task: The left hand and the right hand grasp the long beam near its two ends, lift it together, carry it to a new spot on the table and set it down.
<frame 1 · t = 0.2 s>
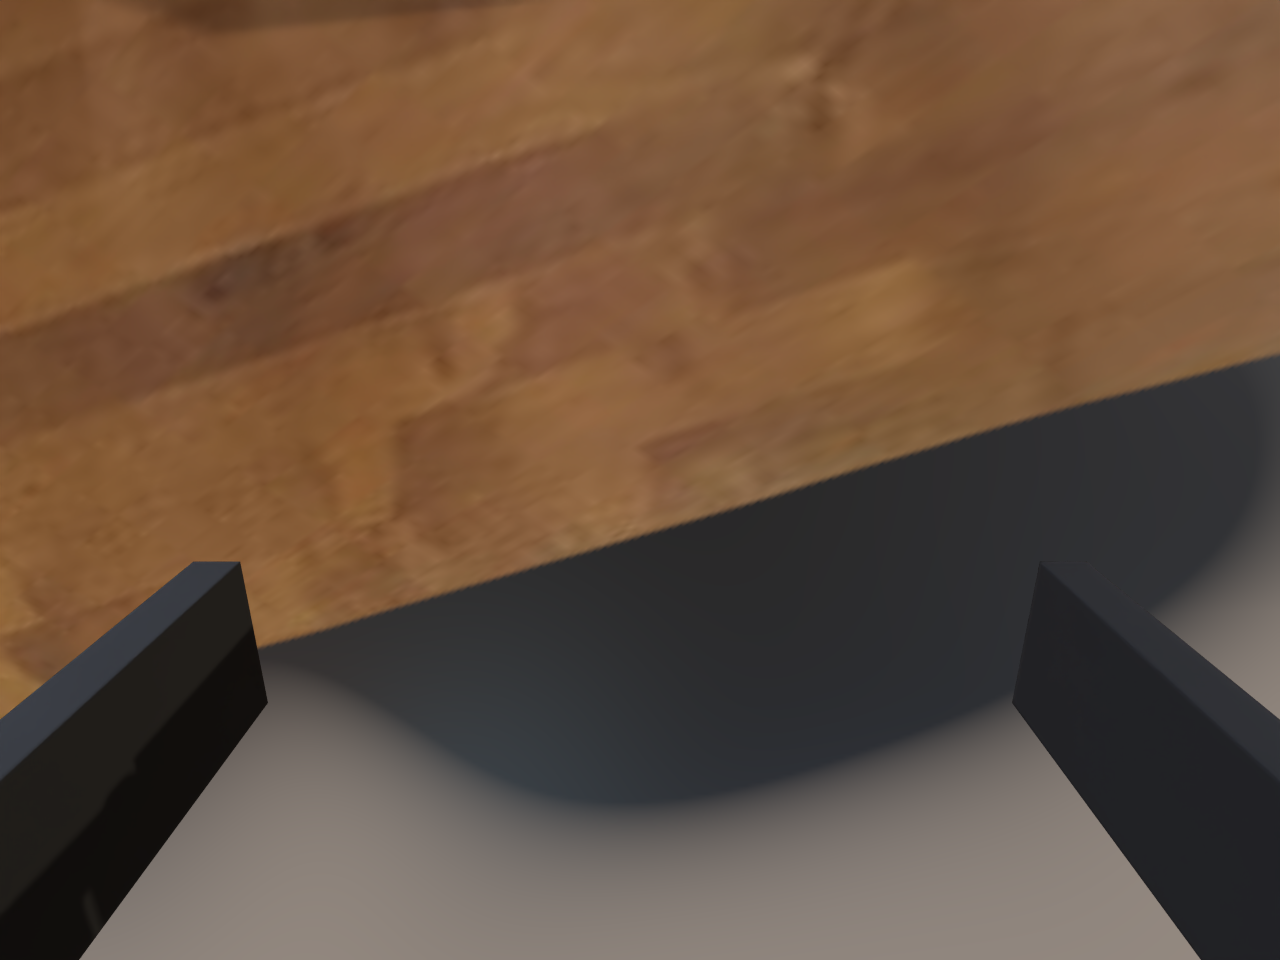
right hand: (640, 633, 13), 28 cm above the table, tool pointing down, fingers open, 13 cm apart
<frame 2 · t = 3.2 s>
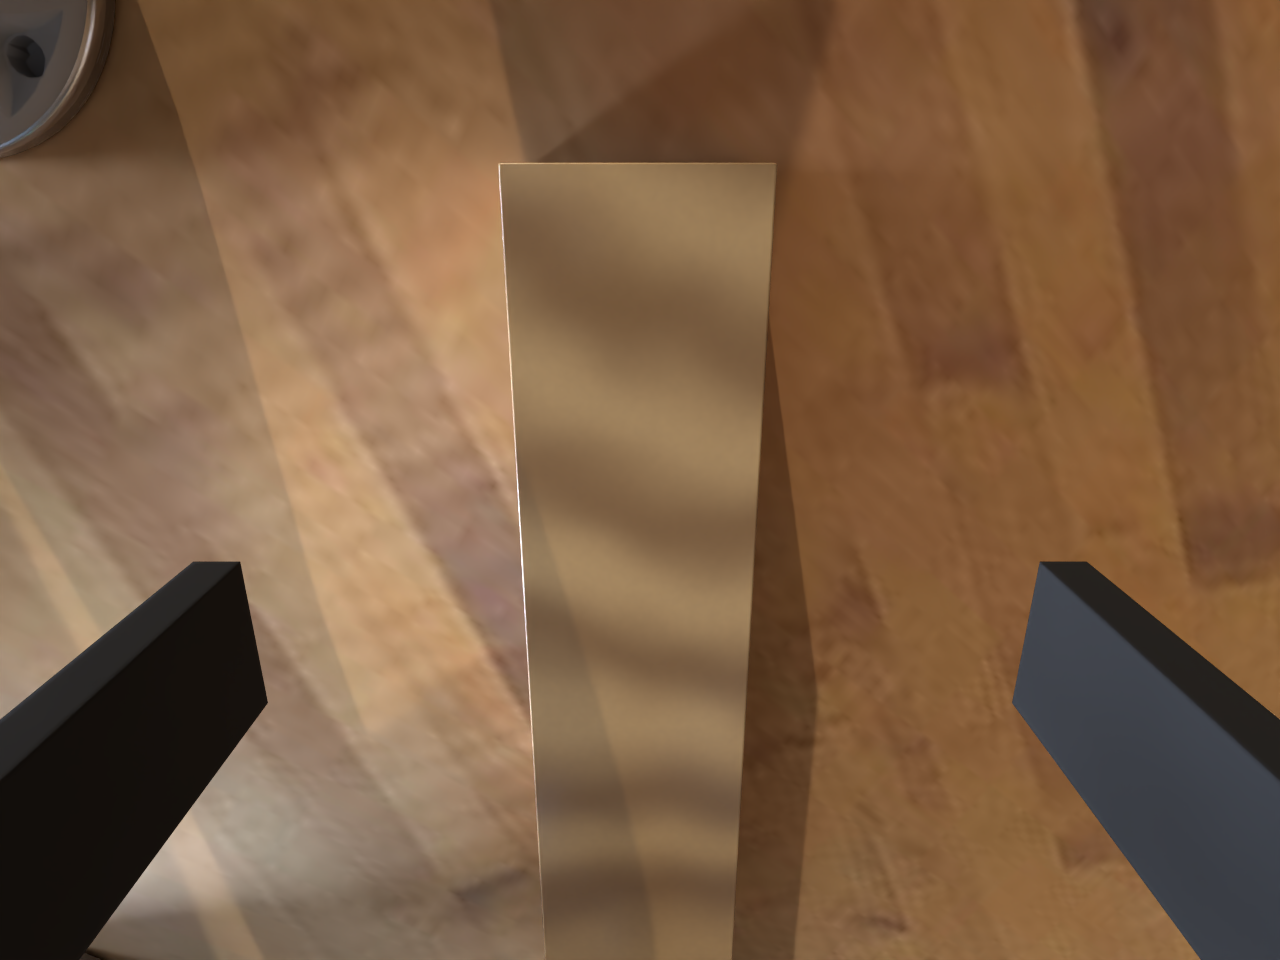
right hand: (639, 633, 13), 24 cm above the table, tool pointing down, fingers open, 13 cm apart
long beam: (638, 896, 47), on the table
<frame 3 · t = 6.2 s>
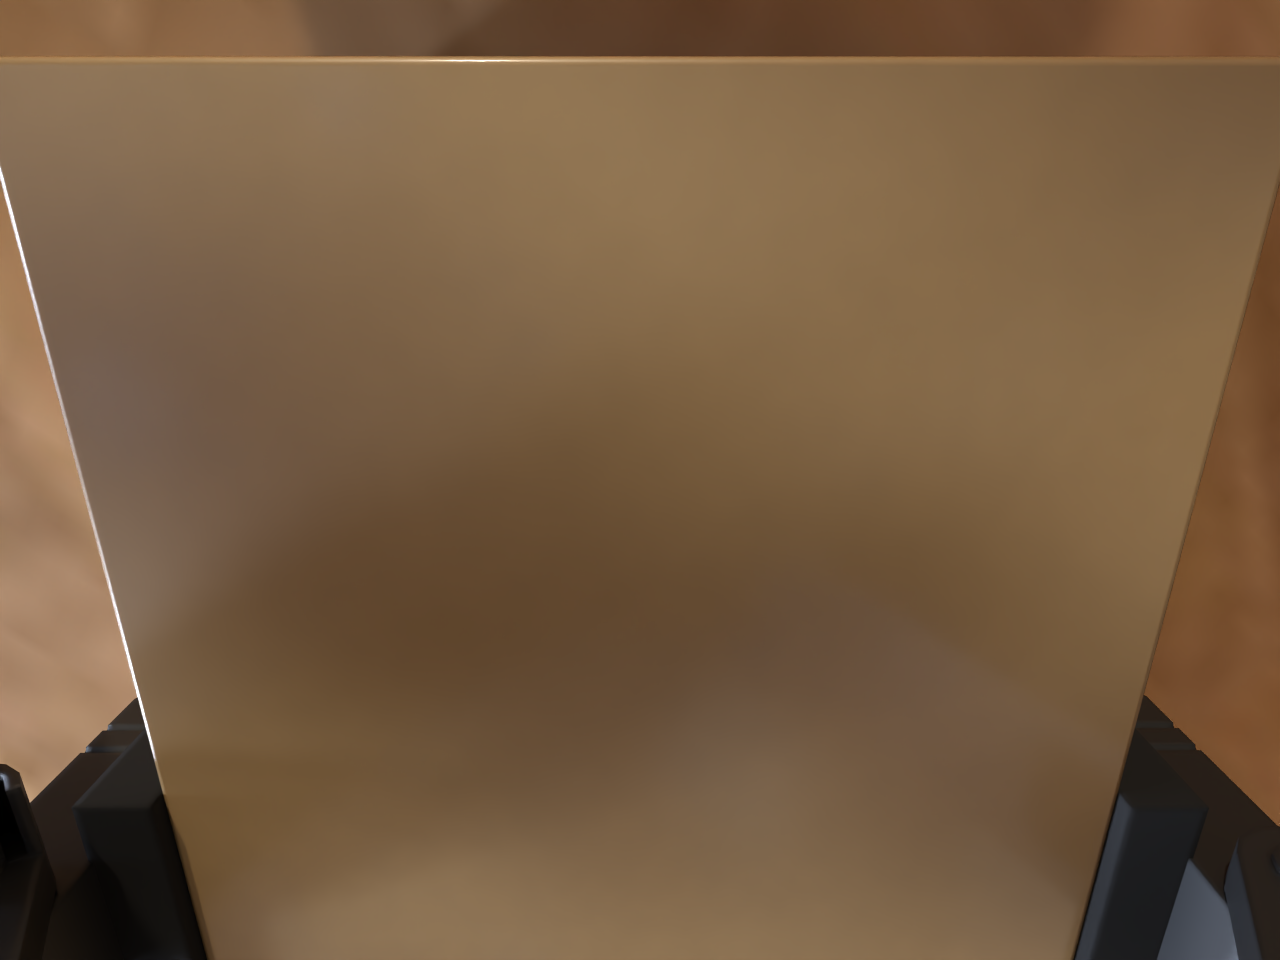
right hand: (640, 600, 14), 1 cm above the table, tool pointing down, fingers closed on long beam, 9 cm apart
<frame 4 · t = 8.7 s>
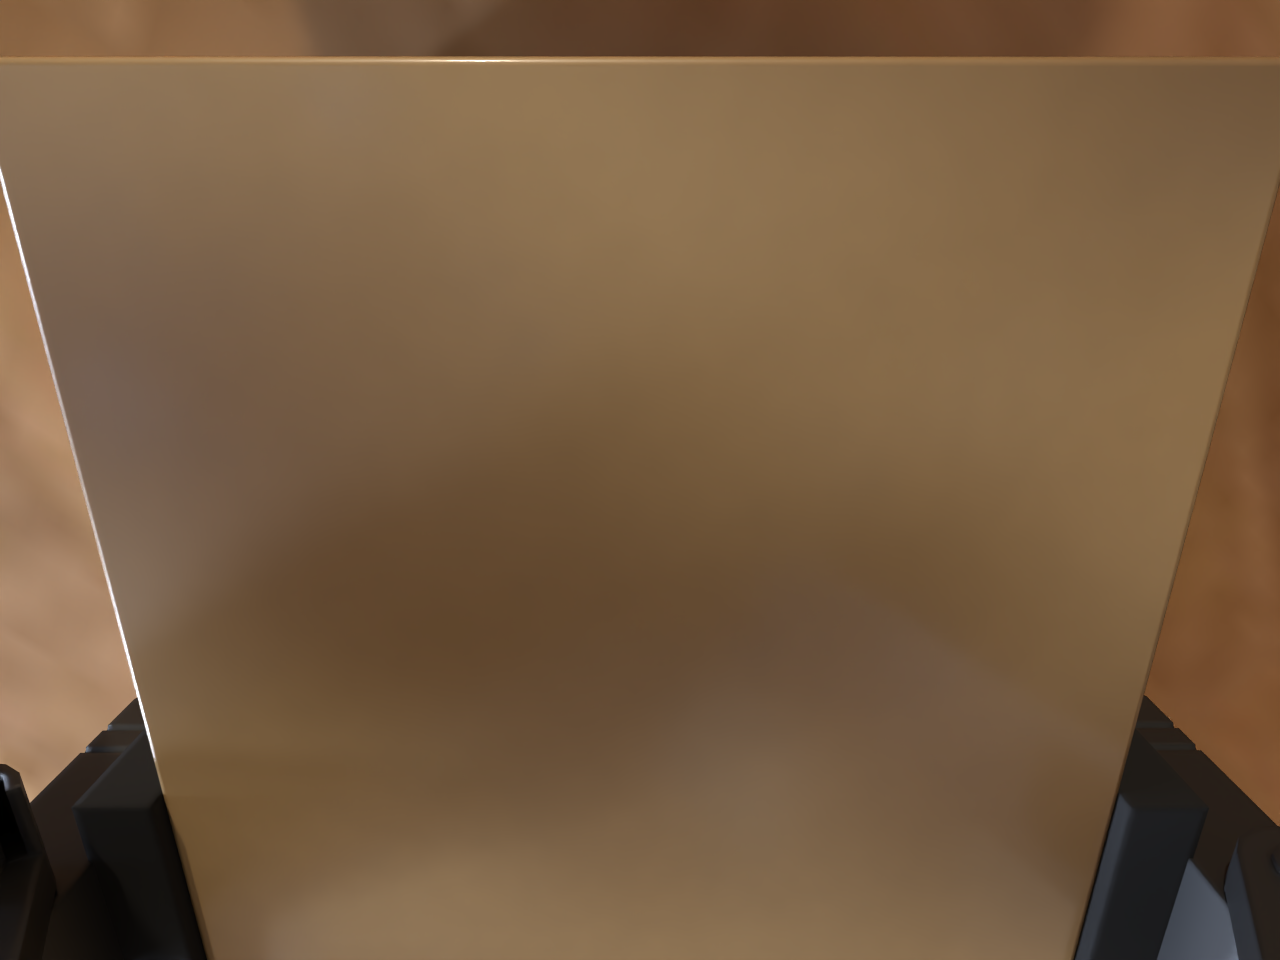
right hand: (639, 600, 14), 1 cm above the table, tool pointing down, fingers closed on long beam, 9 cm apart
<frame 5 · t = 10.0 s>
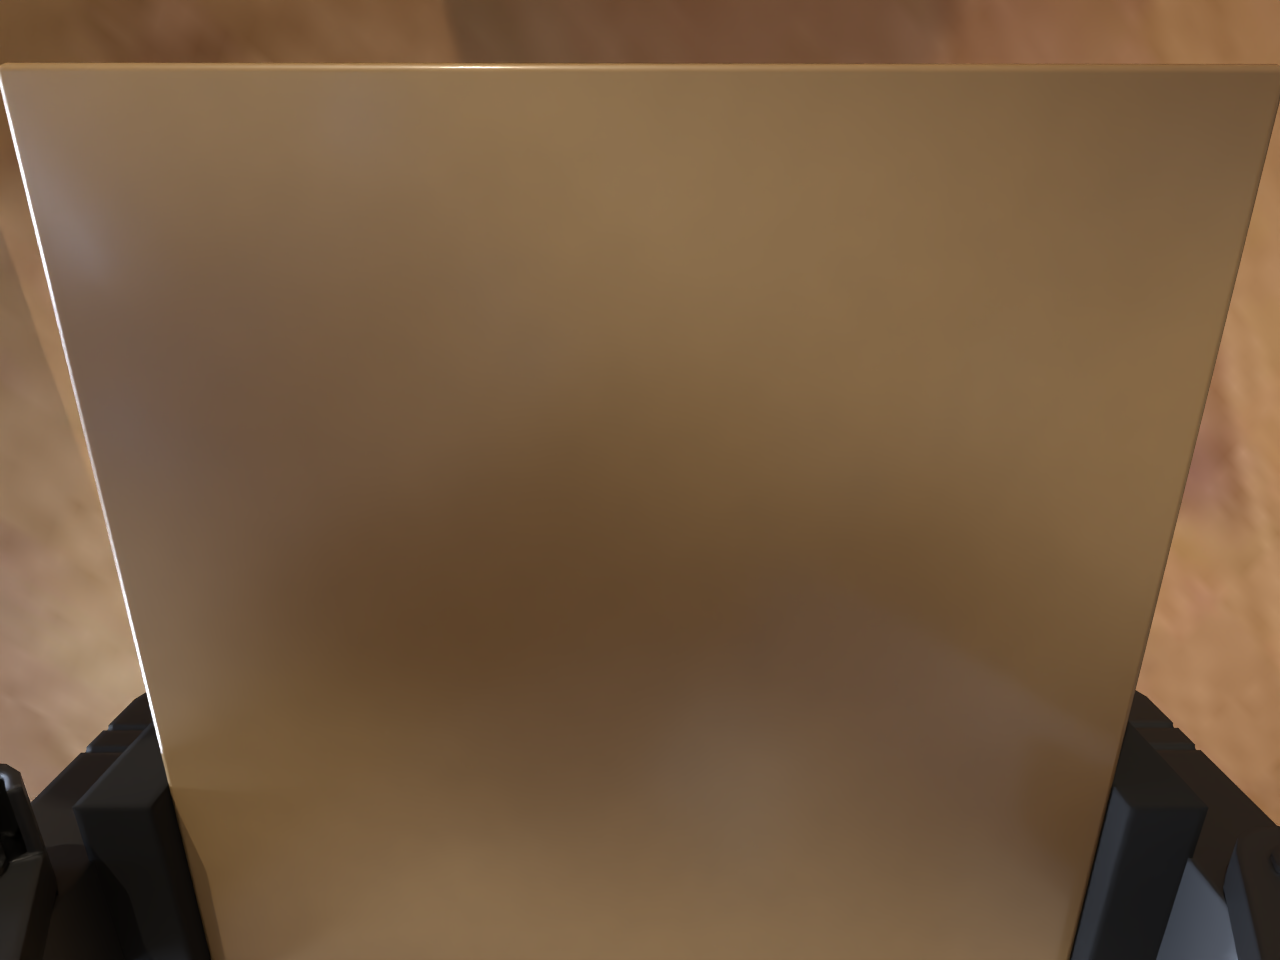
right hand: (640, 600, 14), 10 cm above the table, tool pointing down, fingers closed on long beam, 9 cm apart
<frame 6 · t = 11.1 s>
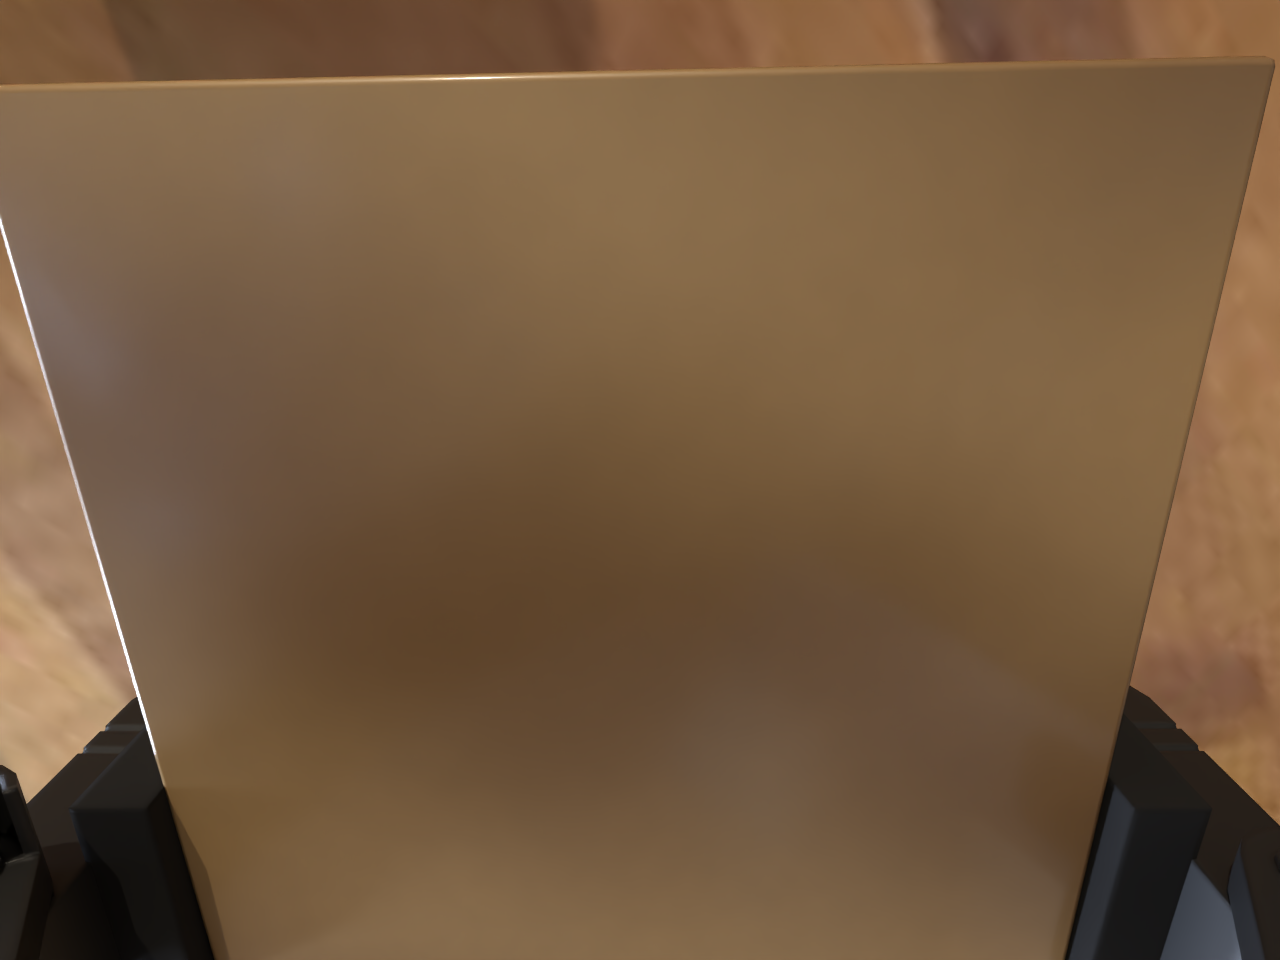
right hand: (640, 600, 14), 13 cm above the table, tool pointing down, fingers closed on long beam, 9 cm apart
when the left hand's fingers open (2 cm above the table, at t = 13.8 s): long beam drops 1 cm, on the table.
when the right hand's fingers open (2 cm above the table, at t = 13.8 s): long beam drops 1 cm, on the table.
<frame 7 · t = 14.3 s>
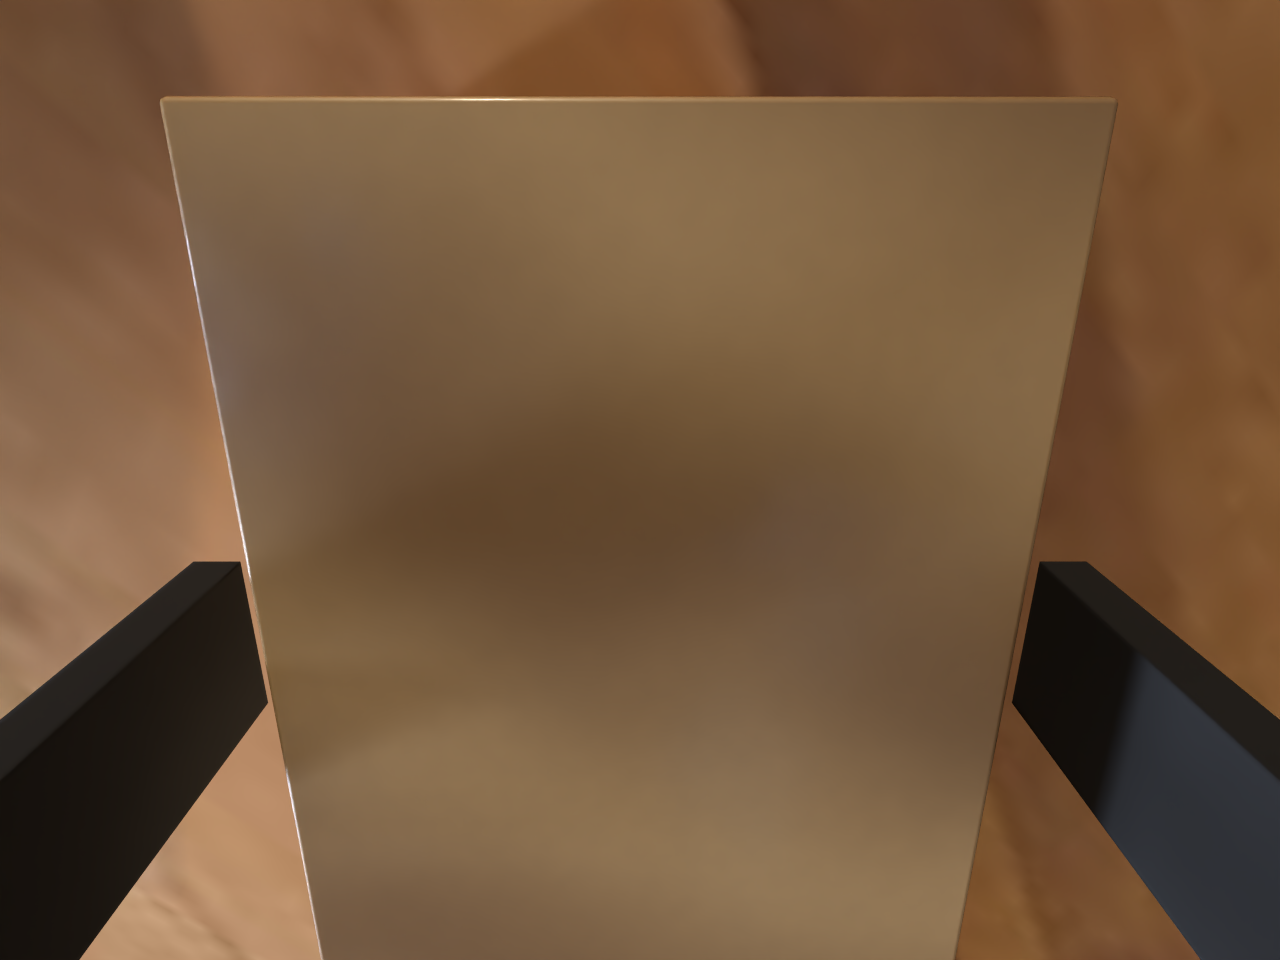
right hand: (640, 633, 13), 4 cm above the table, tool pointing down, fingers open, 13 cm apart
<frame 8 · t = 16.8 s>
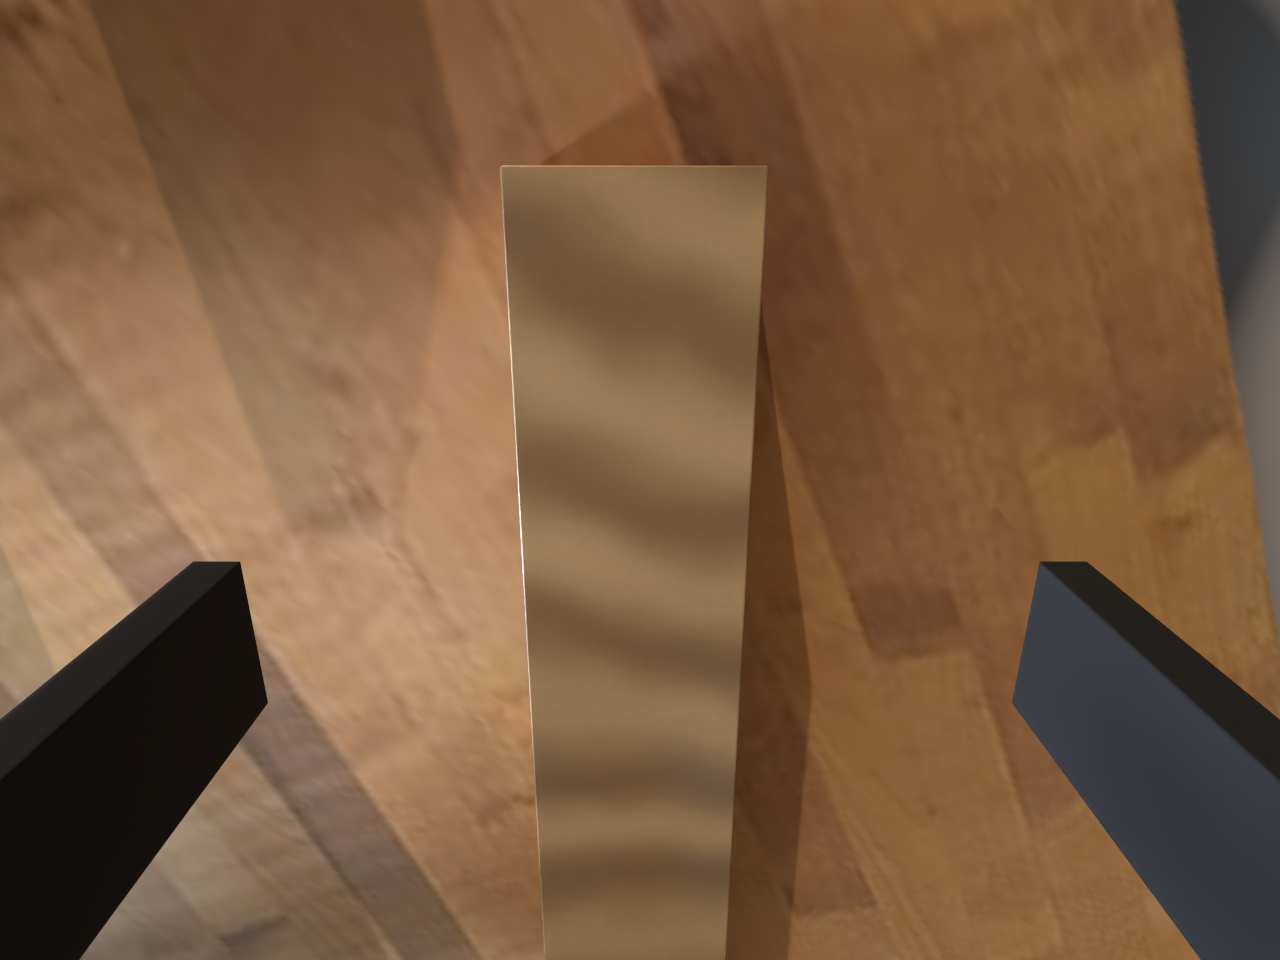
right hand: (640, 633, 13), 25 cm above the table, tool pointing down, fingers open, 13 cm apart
long beam: (635, 884, 47), on the table
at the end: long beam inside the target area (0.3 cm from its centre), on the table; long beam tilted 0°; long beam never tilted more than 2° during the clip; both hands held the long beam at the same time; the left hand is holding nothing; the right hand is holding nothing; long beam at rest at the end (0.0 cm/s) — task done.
